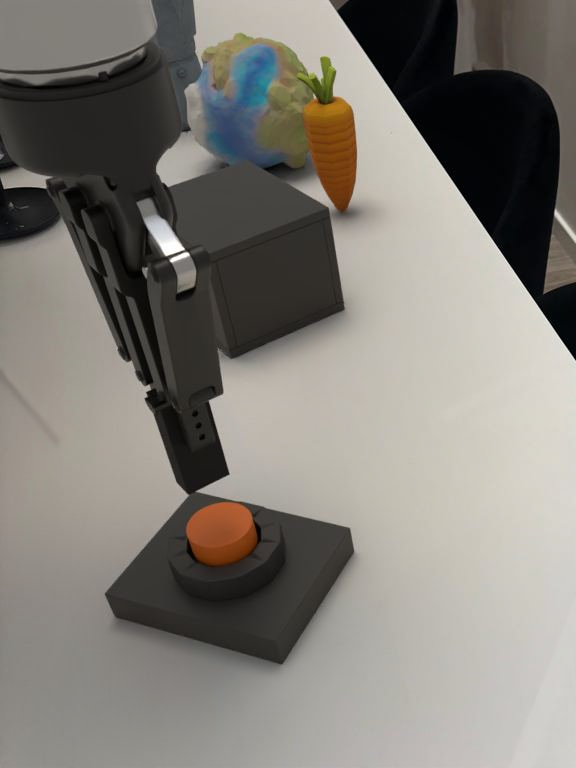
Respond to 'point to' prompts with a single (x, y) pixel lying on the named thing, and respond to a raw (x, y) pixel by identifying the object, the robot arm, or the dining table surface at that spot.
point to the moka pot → (178, 46)
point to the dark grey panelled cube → (259, 253)
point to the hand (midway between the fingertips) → (203, 478)
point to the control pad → (235, 582)
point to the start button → (222, 534)
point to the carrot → (331, 136)
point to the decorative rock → (250, 103)
